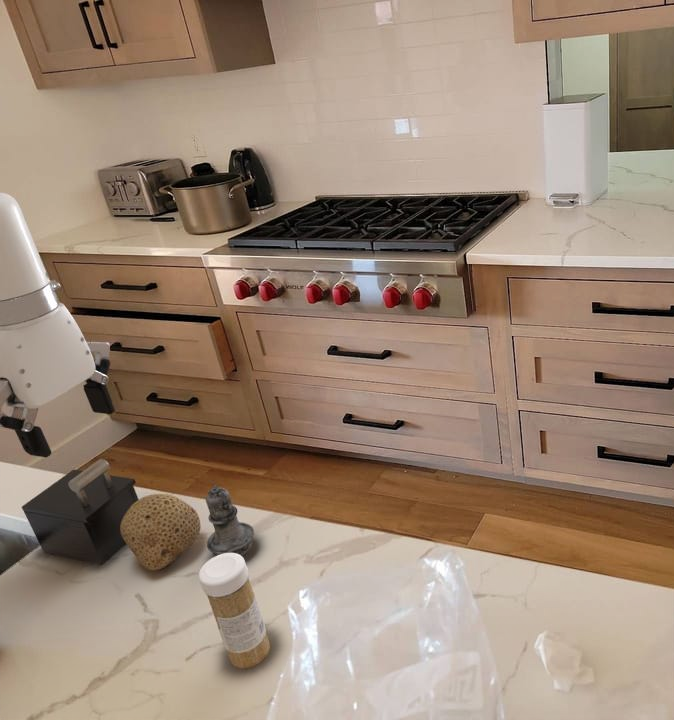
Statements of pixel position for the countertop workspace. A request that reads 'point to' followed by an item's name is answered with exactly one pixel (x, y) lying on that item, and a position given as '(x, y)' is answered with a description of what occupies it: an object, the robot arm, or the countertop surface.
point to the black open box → (84, 532)
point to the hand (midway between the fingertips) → (74, 432)
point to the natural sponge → (159, 529)
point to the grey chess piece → (226, 525)
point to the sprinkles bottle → (235, 609)
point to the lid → (80, 493)
